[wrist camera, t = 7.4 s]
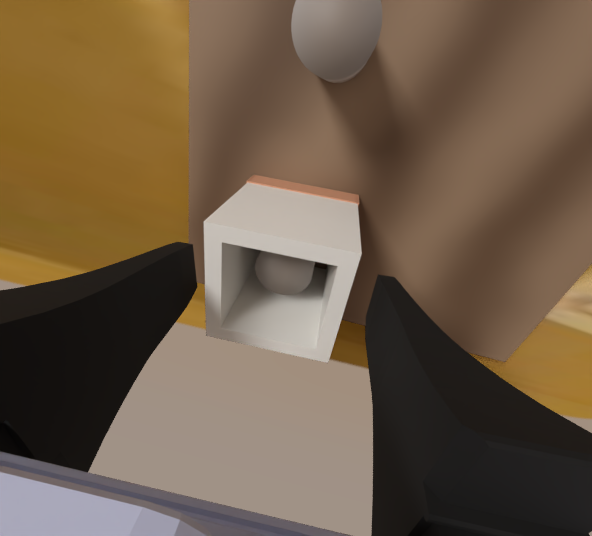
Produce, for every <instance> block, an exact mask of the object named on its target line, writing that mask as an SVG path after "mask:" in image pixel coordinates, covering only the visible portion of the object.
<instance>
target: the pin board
mask: <svg viewBox="0 0 592 536" xmlns="http://www.w3.org/2000/svg"><path fill="white" fill-rule="evenodd" d="M253 175H259V176H264V177H269V178H274V179H279V180H285V181H290V182H295V183H300V184H305V185H310V186H316V187H321V188H326V189H331V190H336V191H341V192H347V193H352V194H357V195H359V206H358V214H359V226H360V239H361V251H362V255H361V258H360V261H359V264H358V268H357V271H356V274H355V277H354V281H353V284H352V287H351V290H350V294H349V297H348V300H347V303H346V307H345V310H344V313H343V316H342V320H345V321H349V322H353V323H357V324H360V325H364V326H366V314H367V310H368V307H369V303H370V300H371V297H372V293H373V290H374V286H375V283H376V279H377V276H378V274H379V275H385V276H391V277H395V278H396V279H397V280H398V281H399V283H400V284H401V285H402V286H403V287H404V289H405V290H406V291H407V292H408V293H409V295H410V296H411V297H412V298H413V299H414V301H415V302H416V303H417V304H418V305H419V306H420V307H421V309H422V310H423V311H424V312H425V313H426V314H427V315H428V316H429V317H430V318H431V319H432V320H433V321H434V322H435V323H436V324H437V325H438V326H439V327H440V328H441V329H442V330H443V331H444V332H445V333H446V334H447V335H448V336H449V337H450V338H451V339H452V340H453V341H454V342H456V343H457V344H458V345H459V346H460V347H461V348H463V349H464V350H465V351H466V352H468V353H472V354H476V355H480V356H484V357H488V358H491V359H495V360H499V361H503V362H505V361H506V360H507V359H508V358H509V357H510V356H511V355H512V354H513V352H514V351H515V350H516V349H517V348H518V347H519V346H520V344H521V343H522V342H523V341H524V340H525V339H526V338H527V337H528V335H529V334H530V333H531V332H532V331H533V330H534V329H535V327H536V326H537V325H538V324H539V323H540V322H541V321H542V319H543V318H544V317H545V316H546V315H547V314H548V313H549V312H550V310H551V309H552V308H553V307H554V306H555V305H556V304H557V302H558V301H559V300H560V299H561V298H562V297H563V296H564V295H565V293H566V292H567V291H568V290H569V289H570V288H571V287H572V285H573V284H574V283H575V282H576V281H577V280H578V279H579V277H580V276H581V275H582V274H583V273H584V272H585V271H586V270H587V268H588V267H589V266H590V265H591V264H592V0H189V244H193V250H194V260H195V269H196V279H197V282H199V283H202V284H205V262H204V221H205V220H206V219H207V218H208V217H209V216H210V215H211V214H213V213H214V212H215V211H216V210H217V209H218V208H219V207H220V206H222V205H223V204H224V203H225V202H226V201H227V200H228V199H230V198H231V197H232V196H233V195H234V194H235V193H236V192H237V191H239V190H240V189H241V188H242V187H243V186H244V185H245V184H246V181H247V180H248V179H249V178H250V177H252V176H253ZM314 267H317V268H322V269H326V268H327V264H324V263H320V262H315V261H310V260H305V259H300V258H296V257H291V256H286V255H281V254H276V253H271V252H267V251H262V250H261V252H260V254H259V256H258V258H257V260H256V263H255V271H256V275H257V277H258V279H259V281H260V282H261V283H262V285H263V286H265V287H266V288H267V289H268V290H270V291H272V292H274V293H277V294H281V295H293V294H297V293H299V292H301V291H303V290H304V289H305V288H307V286H308V285H309V284H310V282H311V279H312V275H313V270H314Z"/></svg>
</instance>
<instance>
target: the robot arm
mask: <svg viewBox="0 0 592 536" xmlns="http://www.w3.org/2000/svg"><path fill="white" fill-rule="evenodd" d="M196 289H197V279H196V269H195V260H194V250H193V244H188V243H182V242H176V243H172V244H169V245H166V246H163V247H160V248H157V249H154V250H152V251H149V252H146V253H144V254H141V255H138V256H135V257H133V258H130V259H127V260H124V261H121V262H118V263H115V264H112V265H109V266H106V267H103V268H100V269H97V270H94V271H91V272H87V273H84V274H80V275H76V276H72V277H68V278H64V279H60V280H55V281H50V282H45V283H40V284H35V285H30V286H25V287H20V288H14V289H8V290H1V291H0V536H351V535H347V534H342V533H338V532H334V531H330V530H326V529H321V528H317V527H313V526H309V525H305V524H301V523H297V522H292V521H288V520H284V519H280V518H276V517H272V516H267V515H263V514H259V513H255V512H251V511H246V510H242V509H238V508H234V507H230V506H226V505H222V504H217V503H213V502H209V501H205V500H201V499H197V498H192V497H188V496H184V495H180V494H175V493H171V492H167V491H163V490H159V489H155V488H151V487H146V486H142V485H138V484H134V483H130V482H125V481H121V480H117V479H113V478H109V477H105V476H101V475H96V474H92V473H88V471H89V469H90V467H91V465H92V462H93V460H94V458H95V456H96V454H97V452H98V450H99V447H100V446H101V443H102V441H103V439H104V437H105V435H106V433H107V432H108V430H109V428H110V425H111V424H112V422H113V420H114V418H115V416H116V414H117V412H118V410H119V408H120V406H121V405H122V403H123V401H124V399H125V398H126V396H127V394H128V392H129V390H130V389H131V387H132V385H133V383H134V382H135V380H136V378H137V377H138V375H139V373H140V372H141V370H142V368H143V367H144V365H145V363H146V361H147V360H148V359H149V357H150V356H151V354H152V353H153V351H154V350H155V349H156V347H157V346H158V344H159V343H160V342H161V341H162V339H163V338H164V337H165V335H166V334H167V333H168V331H169V330H170V329H171V327H172V326H173V325H174V323H175V322H176V321H177V319H178V318H179V317H180V315H181V314H182V313H183V311H184V310H185V308H186V307H187V305H188V304H189V302H190V300H191V298H192V296H193V294H194V292H195V291H196ZM365 340H366V350H367V358H368V366H369V374H370V382H371V391H372V402H373V506H372V536H590V535H589V532H591V531H592V433H590V432H588V431H587V430H585V429H583V428H581V427H580V426H578V425H576V424H574V423H573V422H571V421H569V420H567V419H565V418H564V417H562V416H560V415H559V414H557V413H555V412H553V411H552V410H550V409H548V408H546V407H545V406H543V405H542V404H540V403H538V402H537V401H535V400H534V399H532V398H531V397H529V396H527V395H526V394H524V393H523V392H521V391H520V390H518V389H516V388H515V387H513V386H512V385H511V384H509V383H508V382H506V381H505V380H503V379H502V378H500V377H499V376H498V375H496V374H495V373H493V372H492V371H491V370H489V369H488V368H487V367H485V366H484V365H483V364H481V363H480V362H479V361H477V360H476V359H475V358H474V357H472V356H471V355H470V354H469V353H467V352H466V351H465V350H464V349H463V348H461V347H460V346H459V345H458V344H457V343H456V342H454V341H453V340H452V339H451V338H450V337H449V336H448V335H447V334H446V333H445V332H444V331H443V330H442V329H441V328H440V327H439V326H438V325H437V324H436V323H435V322H434V321H433V320H432V319H431V318H430V317H429V316H428V315H427V314H426V313H425V312H424V311H423V310H422V309H421V307H420V306H419V305H418V304H417V303H416V302H415V301H414V299H413V298H412V297H411V296H410V295H409V293H408V292H407V291H406V290H405V289H404V287H403V286H402V285H401V284H400V283H399V281H398V280H397V279H396V278H395V277H391V276H385V275H379V274H378V276H377V279H376V283H375V286H374V290H373V293H372V297H371V300H370V303H369V307H368V310H367V314H366V327H365Z"/></svg>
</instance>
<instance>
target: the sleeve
mask: <svg viewBox="0 0 592 536" xmlns="http://www.w3.org/2000/svg"><path fill="white" fill-rule="evenodd" d="M358 206H359V195H357V194H352V193H347V192H341V191H336V190H331V189H326V188H321V187H316V186H310V185H305V184H300V183H295V182H290V181H285V180H279V179H274V178H269V177H264V176H259V175H253V176H252V177H250V178H249V179H248V180H247V181H246V184H245V185H244V186H243V187H242V188H241V189H240V190H239V191H237V192H236V193H235V194H234V195H233V196H232V197H231V198H230V199H228V200H227V201H226V202H225V203H224V204H223V205H222V206H220V207H219V208H218V209H217V210H216V211H215V212H214V213H213V214H211V215H210V216H209V217H208V218H207V219H206V220H205V221H204V262H205V306H206V336H210V337H214V338H219V339H223V340H228V341H232V342H237V343H241V344H246V345H250V346H254V347H259V348H263V349H268V350H272V351H277V352H281V353H286V354H290V355H294V356H299V357H303V358H307V359H312V360H316V361H321V362H325V363H328V362H329V359H330V355H331V352H332V349H333V346H334V342H335V339H336V336H337V333H338V329H339V326H340V323H341V320H342V316H343V313H344V310H345V307H346V303H347V300H348V297H349V294H350V290H351V287H352V284H353V281H354V277H355V274H356V271H357V268H358V264H359V261H360V258H361V255H362V251H361V239H360V226H359V214H358ZM261 250H262V251H267V252H271V253H276V254H281V255H286V256H291V257H296V258H300V259H305V260H310V261H315V262H320V263H324V264H327V268H326V269H322V268H317V267H314V270H313V275H312V279H311V282H310V284H309V285H308V286H307V288H305V289H304V290H303V291H301V292H299V293H297V294H293V295H281V294H277V293H274V292H272V291H270V290H268V289H267V288H266V287H265V286H263V285H262V283H261V282H260V281H259V279H258V277H257V275H256V271H255V263H256V260H257V258H258V256H259V254H260V252H261Z"/></svg>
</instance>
